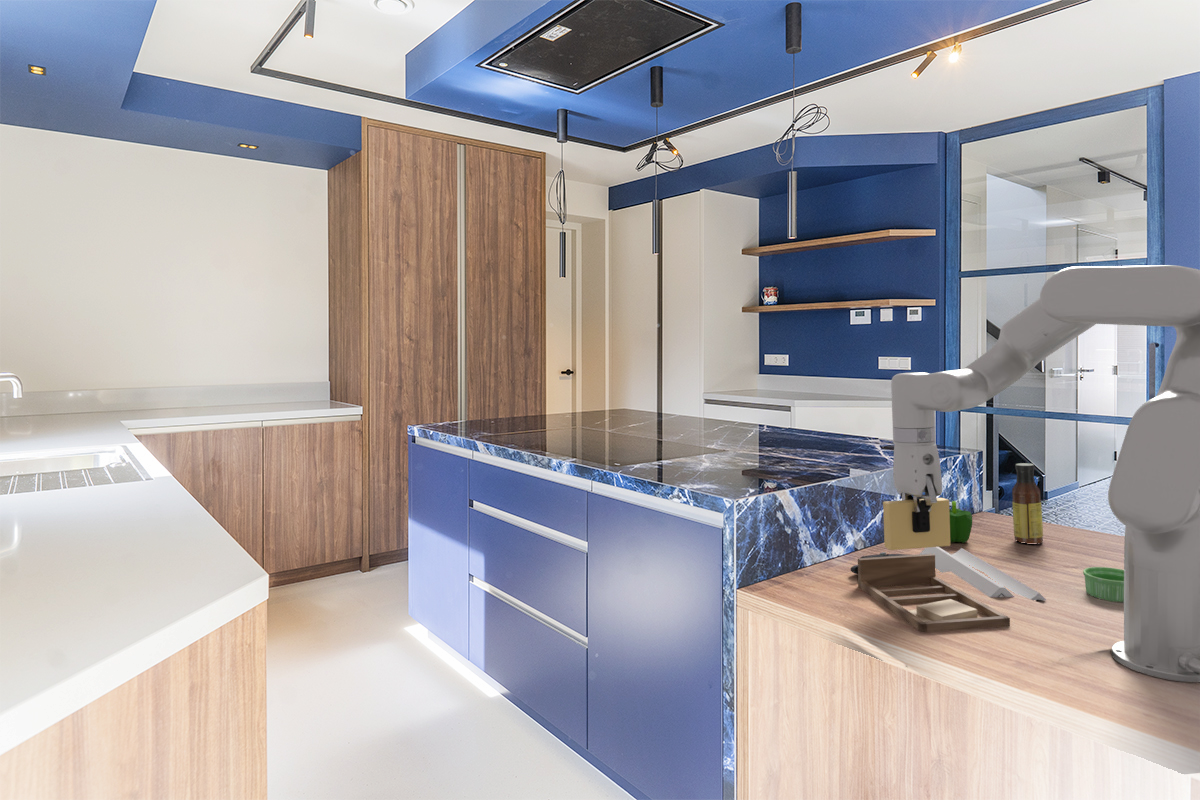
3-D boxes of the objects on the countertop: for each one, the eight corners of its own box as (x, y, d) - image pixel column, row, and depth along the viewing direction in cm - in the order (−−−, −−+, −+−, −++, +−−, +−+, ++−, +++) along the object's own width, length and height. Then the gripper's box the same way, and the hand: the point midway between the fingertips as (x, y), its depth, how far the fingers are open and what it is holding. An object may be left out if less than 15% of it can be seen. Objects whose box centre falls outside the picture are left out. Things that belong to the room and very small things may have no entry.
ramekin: (1099, 603, 129) (1099, 581, 129) (1073, 587, 138) (1073, 566, 138) (1151, 604, 128) (1151, 581, 127) (1121, 588, 137) (1121, 566, 136)
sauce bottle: (1042, 540, 171) (1042, 462, 170) (1043, 546, 166) (1043, 466, 165) (1012, 537, 175) (1012, 461, 173) (1012, 544, 169) (1011, 465, 168)
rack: (1009, 631, 118) (1009, 592, 117) (921, 638, 117) (920, 598, 116) (932, 586, 142) (931, 553, 141) (858, 591, 141) (857, 558, 140)
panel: (950, 545, 131) (949, 499, 131) (890, 550, 131) (889, 504, 130) (943, 542, 134) (942, 497, 133) (884, 546, 133) (883, 501, 133)
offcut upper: (977, 618, 121) (977, 609, 121) (942, 625, 119) (942, 616, 119) (950, 607, 127) (950, 599, 127) (916, 614, 125) (916, 605, 125)
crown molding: (1045, 604, 131) (1045, 586, 131) (982, 606, 132) (981, 588, 131) (966, 557, 162) (966, 542, 162) (915, 559, 163) (915, 544, 163)
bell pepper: (966, 547, 168) (965, 507, 168) (931, 541, 174) (931, 503, 174) (978, 540, 174) (977, 501, 173) (944, 535, 180) (943, 498, 179)
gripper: (957, 439, 123) (960, 538, 124) (910, 431, 139) (913, 519, 140) (917, 441, 123) (920, 541, 124) (875, 433, 139) (878, 522, 140)
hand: (916, 529), depth 132 cm, fingers closed on panel, 2 cm apart
